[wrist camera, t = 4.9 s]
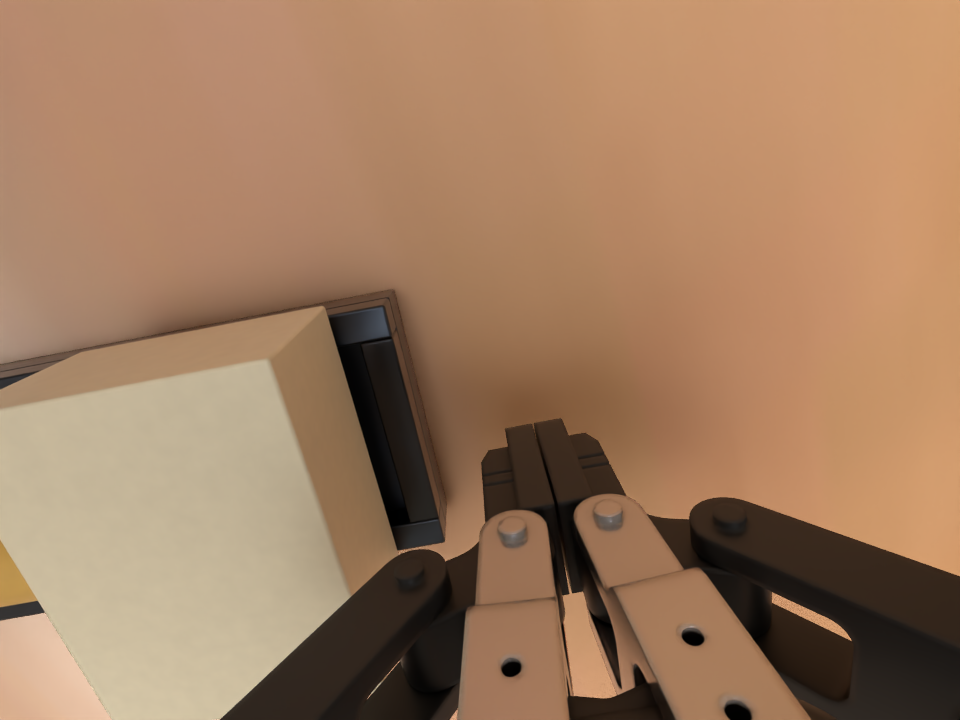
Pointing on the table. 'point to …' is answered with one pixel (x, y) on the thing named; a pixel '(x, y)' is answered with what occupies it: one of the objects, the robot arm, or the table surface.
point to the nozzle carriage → (189, 508)
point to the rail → (378, 403)
